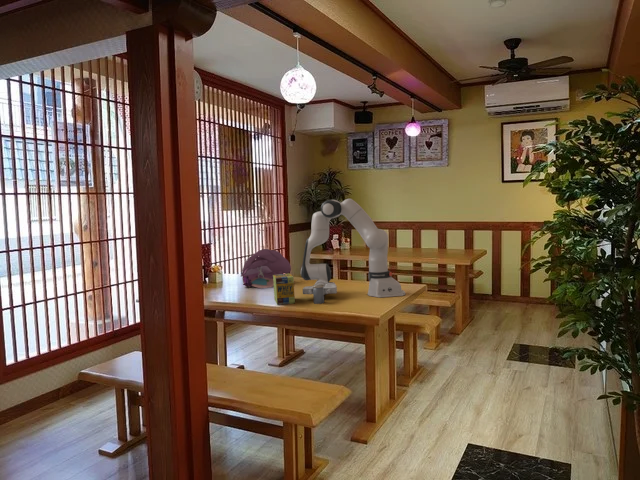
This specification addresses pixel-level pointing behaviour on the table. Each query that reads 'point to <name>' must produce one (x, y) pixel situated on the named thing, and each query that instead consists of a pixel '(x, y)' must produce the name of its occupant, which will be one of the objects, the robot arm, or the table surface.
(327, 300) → the table surface
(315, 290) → the tumbler
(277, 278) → the protein box
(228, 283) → the table surface
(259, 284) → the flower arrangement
